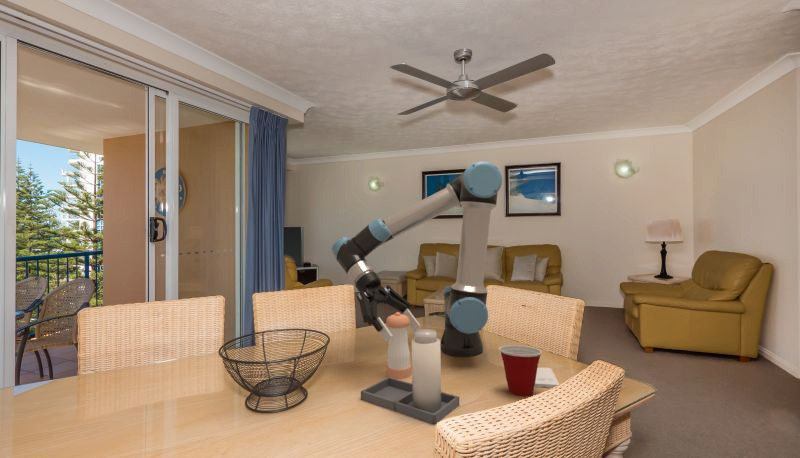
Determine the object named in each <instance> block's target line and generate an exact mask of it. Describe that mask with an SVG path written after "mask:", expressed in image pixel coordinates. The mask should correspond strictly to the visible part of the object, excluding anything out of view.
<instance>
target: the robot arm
mask: <svg viewBox="0 0 800 458" xmlns="http://www.w3.org/2000/svg"><path fill="white" fill-rule="evenodd" d="M502 185H503V176H502V173H501V170H500V169H499V168H498V167H497V166H496V165H495V164H493V162H489V161H486V160H482V161H481V160H480V161H477V162H473V163H471V164H470V165H468V166H467V167H466V168H465V170H464V171H463V172H462V173H461V174H460V175H459V176H458V177H456V178H455V179H454V180H453V181H450V182H449V183H447V184H446V185H445V186H446V187H445V188H442V189H441V190H439V191H437V192H434V194H432V195H430V196H427V197H426V198H424V199H421V200H420V201H417V202H415V203H413V204H412V205H410V206H408V207H406V208H404V209H402V210H400V211H398V212H396V213H395V214H392V215H391V216H389V217H386V218H385V219H383V220H382V219H381V218H380V217H379V218H375V219H374V220H372V221H371V222H369V223H368V225H366V226H365V227H364V228H362V229H361V230H360V231H359V232H358V233H357V234H355V236H353V237H352V238H351V237H349V236H343V237H341V238H340V239H337V240H336V241H335V242H333V245H332V248H331V252H332V254H333V255H334V257H335V259H336V261H337V262H338V264H339V265H340V266H341V268H342V269H343V271H344V272H345V273H346V275H347V276H348V278H349V279H350V281H352V283H353V285H354V286H355V288H356V290H357V291H358V293H357V295H356V299H357V300H358V303H359V306H360V307H359V308H360V311H361V317H362V321H363V323H364V324H365V323H366V324H368V325H369V326H371V325H372V326H373V327H374V329H375V331H377V332H378V333H379V334H380V336H381V338H383V340H384V342H385V343H389V340H390V338H391V337H392V336H393V335H392V334H391V333H390V331H389V327H388V326H387V324H386V323H384V321H383V320H382V319H381V316H380V317H378V305H379V304H385V305H386V304H387V305H388V306H390V307H392V308H394V309H396V310H397V311H398V312H400V313H401V314H403V315H406V316H407V317H408V318H409V320H410V324H409V326H410V328H411V329H412V331H413V332H415V331H416V330H419V328H420V327H421V324H420V322H419V321H418V320H417V319H416V317H415V315H414V314H413V312H411V310H410V308H411V306H412V304H411V303H410V302H409V301H407V300H406V299H405V298H404V297H403V296H402V295H400V294H399V293H397V292H396V291H395V290H394V289H393V288H392V287H391V286H390V285H386V287H383V286H382V284H381V283H382V281H381V280H382V279H381V278H380V277H379V276H378V274H377V273H376V271H374V269H373V266H371V264H369V262H368V261H367V259H366V258H367V256H369V255H370V254H371V253H372V252H374V251H375V250H376V249H377V248H378V247H379V246H380V247H381V246H382V245H384V244H385V243H388V242H390V241H391V240H393V239H395V238H396V237H397V238H398V237H399V236H401V235H402V234H403V235H404V234H405V233H406V232H409V231H410V230H413V229H414V228H417V227H419V226H420V225H421V226H422V224H424V223H426V222H429V221H431V220H432V219H434V218H436V217H439V216H440V215H442V214H444V213H446V212H448V211H450V210H452V209H454V208H459V209H460V208H462V209H463V214H462V220H461V221H462V223H461V232H460V243H459V253H458V262H457V270H456V271H457V272H456V279H455V283H453V284H452V285H446V286H445V287H444V290H443V297H444V299H443V303H444V329H443V332H442V336H441V339H440V352H441V353H444V354H446V355H450V356H455V357H473V356H478V355H480V354H482V353H483V352H484V343H483V341H482V337H481V334H480V332H479V331H481V330H482V329H484V327H485V326H486V324H487V322H488V319H489V311H488V307H487V298H488V289H486V287H485V285H484V280H485V271H486V270H485V269H486V259H487V250H488V243H489V231H490V223H491V222H490V221H491V213H492V210H493V209H495V208H496V207H497V201H498V193H499V191H500V190H501V188H502Z"/></svg>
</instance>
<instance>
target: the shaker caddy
mask: <svg viewBox="0 0 800 458" xmlns="http://www.w3.org/2000/svg"><path fill="white" fill-rule="evenodd" d="M360 400H362V401H364V402H367V403H371V404H374V405H376V406H379V407H382V408H385V409H388V410H391V411H393V412H397V413H399V414H402V415H405V416H407V417H411V418H414V419H415V420H416V419H417V420H419V421H421V422H425V423H428V424H431V425H433V426H434V425H437V424H438V423H439V422H440V421H442V420H443V419H444V418H445V417H447V416H448V415H449V414H451V413H452V412H453V411H454V410H455V409H457V408H459V406H460V396H457V395H454V394H452V393H447V392H443V391H441V405H442V408H441V409H439V410H438V411H437V412H435V413H434V414H433V413H430V412H427V411H424V410H421V409H418V408H415V407H413V390H412V382H407V381H404V380H402V379H394V378H391V377H386V378H384V379H382V380H380V381H378V382H375V383H373V384H372V385H370V386H368V387H366V388H363V389H362V390H360ZM437 422H438V423H437Z"/></svg>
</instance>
